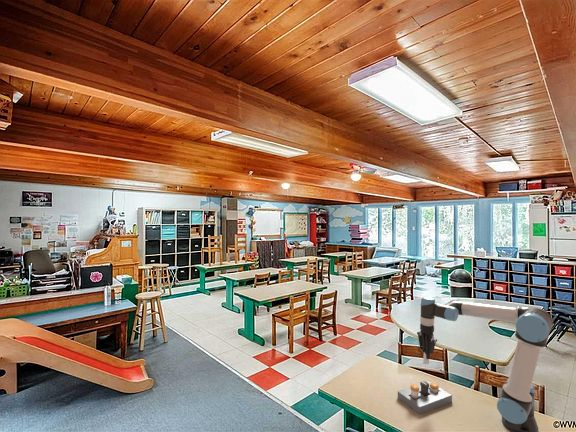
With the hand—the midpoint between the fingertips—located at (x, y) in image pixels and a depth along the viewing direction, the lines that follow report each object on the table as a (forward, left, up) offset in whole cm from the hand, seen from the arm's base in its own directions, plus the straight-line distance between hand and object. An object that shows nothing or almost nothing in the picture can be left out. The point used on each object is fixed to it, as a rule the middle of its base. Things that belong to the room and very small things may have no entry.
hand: (426, 363), depth 179 cm
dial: (-1, +2, -18) cm, 18 cm away
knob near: (-1, +10, -18) cm, 20 cm away
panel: (-1, +2, -21) cm, 21 cm away
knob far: (-1, -6, -21) cm, 22 cm away
